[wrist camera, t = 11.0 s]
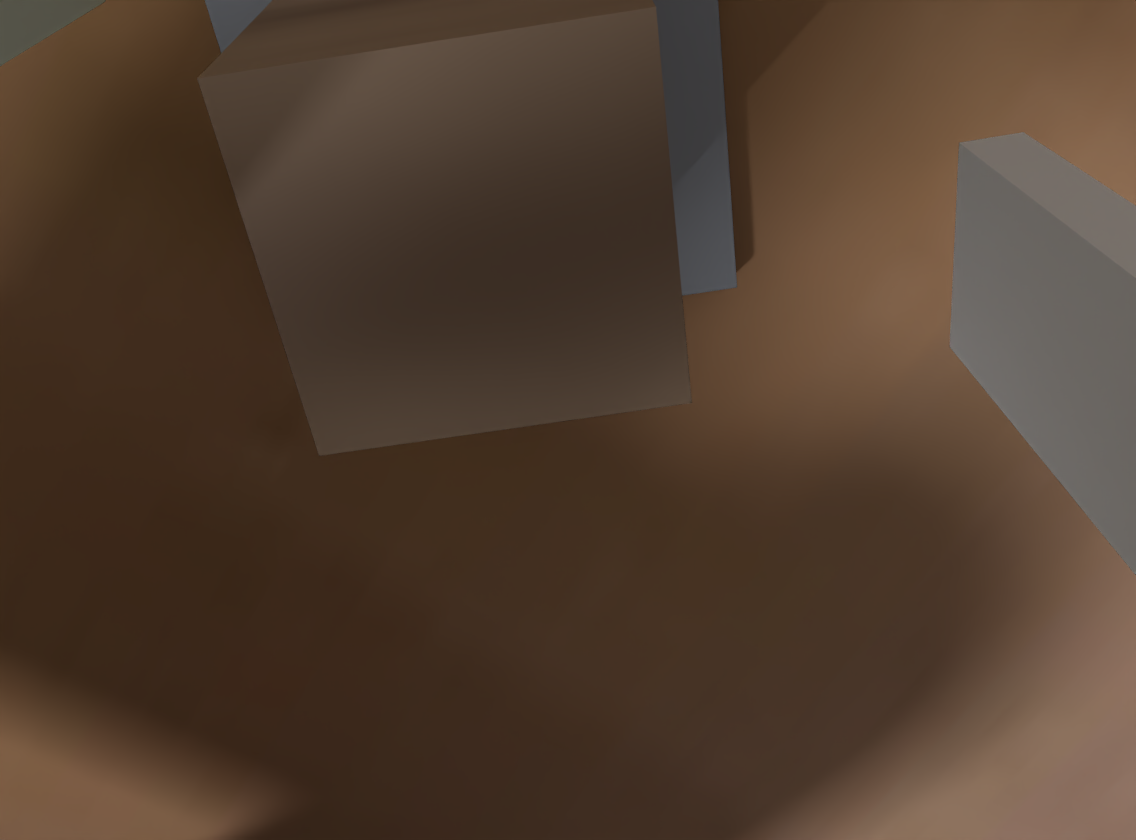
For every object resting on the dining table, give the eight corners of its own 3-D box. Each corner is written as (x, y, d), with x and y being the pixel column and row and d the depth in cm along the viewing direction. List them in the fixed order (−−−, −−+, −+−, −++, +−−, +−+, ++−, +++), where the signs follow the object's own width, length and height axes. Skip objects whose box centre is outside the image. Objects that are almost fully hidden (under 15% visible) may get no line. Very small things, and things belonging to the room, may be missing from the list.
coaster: (732, 277, 23) (736, 287, 22) (317, 340, 23) (314, 351, 22) (699, -210, 18) (703, -209, 17) (176, -121, 18) (167, -118, 18)
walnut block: (641, 221, 21) (692, 402, 15) (372, 261, 21) (318, 455, 16) (609, -76, 18) (656, 7, 12) (297, -26, 19) (197, 78, 13)
